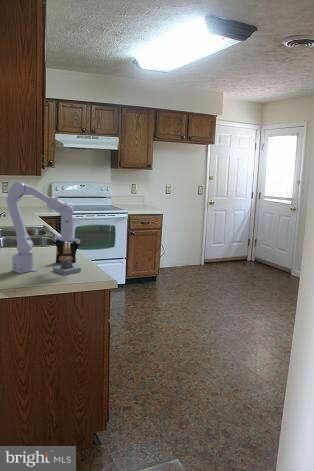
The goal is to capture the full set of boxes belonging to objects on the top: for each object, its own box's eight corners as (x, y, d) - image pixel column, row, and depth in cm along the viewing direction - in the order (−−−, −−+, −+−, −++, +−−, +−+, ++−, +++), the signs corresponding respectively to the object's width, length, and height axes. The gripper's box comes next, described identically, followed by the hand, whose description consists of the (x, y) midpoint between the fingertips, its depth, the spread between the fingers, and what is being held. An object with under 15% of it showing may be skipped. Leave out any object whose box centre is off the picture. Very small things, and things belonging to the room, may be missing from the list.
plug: (67, 272, 206) (67, 259, 205) (60, 271, 208) (61, 258, 207) (72, 271, 210) (72, 257, 209) (65, 270, 212) (66, 256, 210)
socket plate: (64, 274, 202) (64, 270, 202) (52, 270, 209) (52, 266, 208) (80, 271, 210) (81, 267, 209) (69, 267, 216) (69, 264, 216)
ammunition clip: (75, 261, 231) (75, 240, 229) (75, 262, 229) (76, 241, 227) (55, 262, 226) (55, 241, 224) (56, 263, 225) (56, 241, 223)
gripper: (50, 228, 205) (50, 255, 207) (74, 231, 199) (74, 259, 201) (59, 227, 211) (59, 253, 213) (82, 230, 205) (82, 256, 208)
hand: (67, 255), depth 208 cm, fingers open, 7 cm apart
